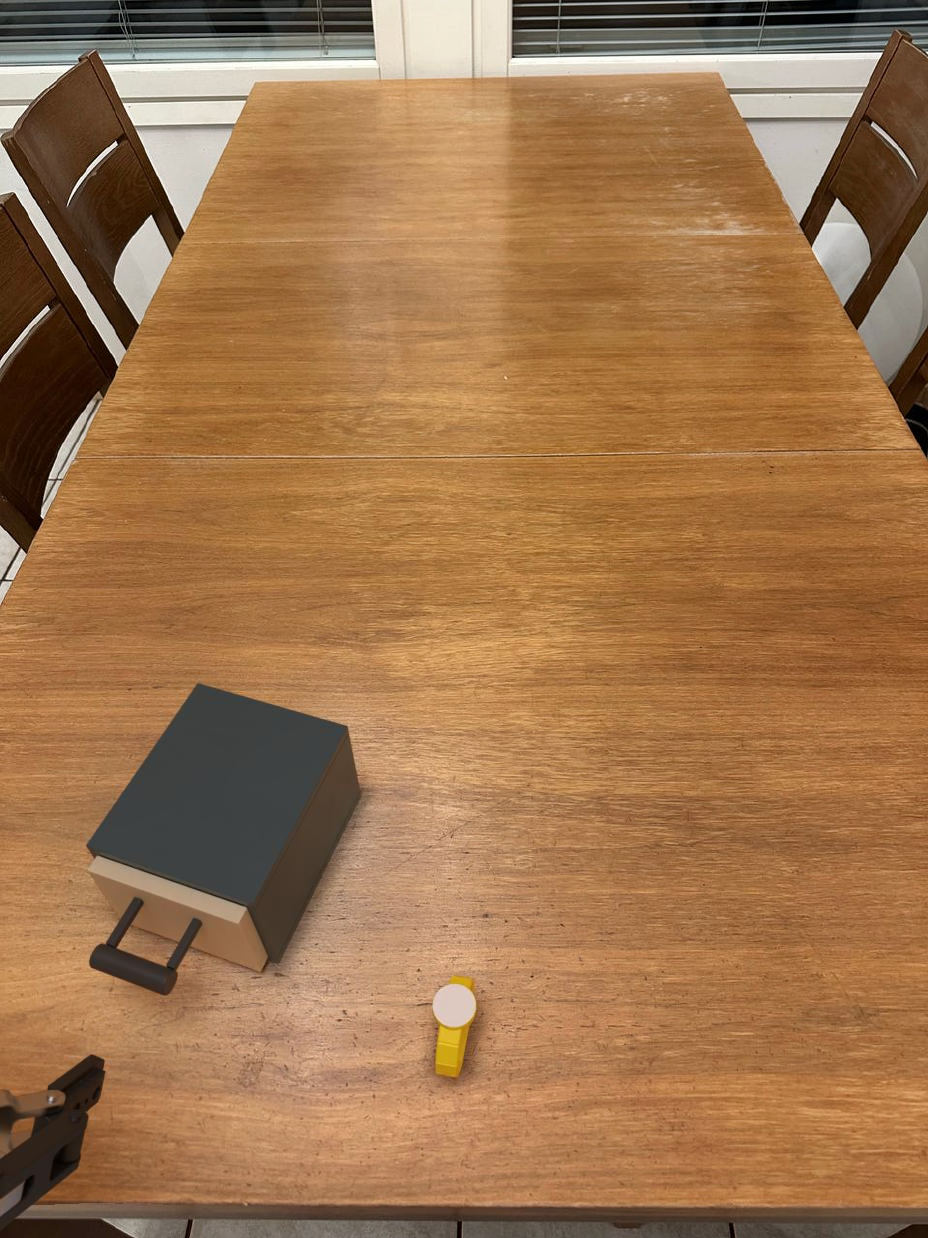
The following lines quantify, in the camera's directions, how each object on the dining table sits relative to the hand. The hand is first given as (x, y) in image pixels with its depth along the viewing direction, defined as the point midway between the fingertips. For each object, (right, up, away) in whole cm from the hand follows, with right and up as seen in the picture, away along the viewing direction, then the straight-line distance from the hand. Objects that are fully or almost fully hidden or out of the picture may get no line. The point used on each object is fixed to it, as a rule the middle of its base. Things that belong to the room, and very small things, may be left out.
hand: (30, 1045), depth 51 cm
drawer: (+5, +3, +19) cm, 20 cm away
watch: (+23, -5, +12) cm, 27 cm away
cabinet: (+7, +5, +22) cm, 24 cm away
